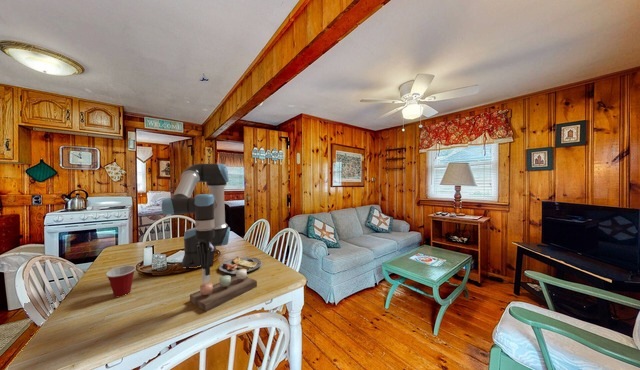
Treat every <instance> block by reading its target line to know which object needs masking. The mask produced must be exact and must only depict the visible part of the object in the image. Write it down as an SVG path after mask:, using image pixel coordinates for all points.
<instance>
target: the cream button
mask: <svg viewBox="0 0 640 370" xmlns="http://www.w3.org/2000/svg"><path fill="white" fill-rule="evenodd" d="M235 276H236V278H237V279H244V278H246V277H248V273H247V270H246V269H240V270H238V271H236V274H235Z"/></svg>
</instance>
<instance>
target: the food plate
mask: <svg viewBox="0 0 640 370" xmlns="http://www.w3.org/2000/svg"><path fill="white" fill-rule="evenodd" d="M262 264H263V261H262V260H260V259H259V258H256V257H250V256H249V257H248V256H246V257H244V256H243V257H239V256H236V257H235V258H232V259H228V260H225V261H223V262H222V263H221V264H219V266H218V270H219V271H220V272H224V273H226V274H231V275H236V271H238V270H240V269H246V270H247V272H251V271H254V270H256V269H258V268H259V267H261V266H262Z"/></svg>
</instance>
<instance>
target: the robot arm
mask: <svg viewBox="0 0 640 370" xmlns="http://www.w3.org/2000/svg"><path fill="white" fill-rule="evenodd" d="M229 180H230V179H229V172H228V167H227V165H226V164H224V163H196V164H192V165H190V166H189V167H187V168H186V169H184V170H183V172H181V175H180V182H179V183H178V185H177V187H176V189H175V191H174V192H173V195H172V197H168V198H163V200H162V201H161V211H162V213H163V214H164V215H168V216H169V215H172V216H173V215H184V214H185V215H186V214H194V215H195V216H194V221H195V222H194V226H195V227H193V228H189V229H187V230H185V231H184V235H183V243H184V245H183V247H184V253H183V254H184V255H183V258H182V262H181V268H182V267H186V268H189V267H197V266H200V265H201V267H200V268H201V276H202V277H201V278H202V279H201V280H202V281H201V282H202V284H204V283H210V282H211V268H212V267H213V266H214V261H215V251H216V249H217V247H222V246H226V245H229V241H230V230H231V227H230V226H229V225H228V224H227V223H226V210H225V187H226V186H227V183H228V182H229ZM198 183H206V186H207V188H208V189H209V191H208V192H209V193H201V194H196V195H194V197H192V195H193V192H194V189H195V187H196V185H197V184H198Z"/></svg>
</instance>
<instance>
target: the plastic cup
mask: <svg viewBox="0 0 640 370" xmlns="http://www.w3.org/2000/svg"><path fill="white" fill-rule="evenodd" d="M136 270H137V267H136V266H135V265H133V264H131V265H130V264H129V265H121V266H119V267H118V266H117V267H115V268H112V269H110V270H108V271H107V272H106V273H105V277H107V279H108V281H109V284H110V287H111V290H112V292H113V296H122V295H125V294H127V295H129V294H130V293H131V291H132V285H133V279H134V274H135V271H136ZM129 292H130V293H129ZM128 293H129V294H128ZM125 296H126V295H125ZM122 297H123V296H122Z"/></svg>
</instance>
